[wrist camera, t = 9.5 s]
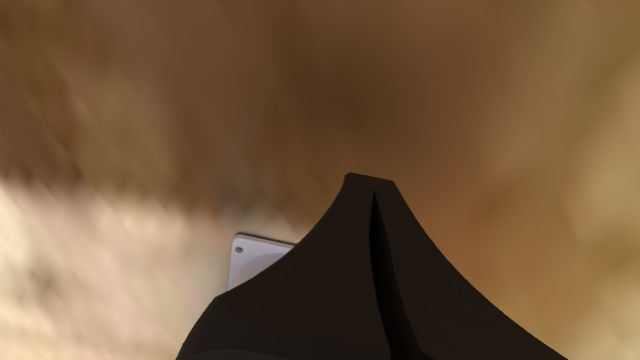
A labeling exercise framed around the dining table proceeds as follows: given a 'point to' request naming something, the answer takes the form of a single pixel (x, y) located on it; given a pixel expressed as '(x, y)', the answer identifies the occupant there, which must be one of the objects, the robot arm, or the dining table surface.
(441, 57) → the dining table surface
